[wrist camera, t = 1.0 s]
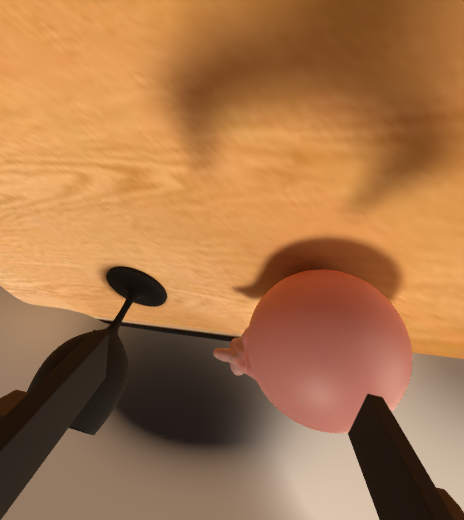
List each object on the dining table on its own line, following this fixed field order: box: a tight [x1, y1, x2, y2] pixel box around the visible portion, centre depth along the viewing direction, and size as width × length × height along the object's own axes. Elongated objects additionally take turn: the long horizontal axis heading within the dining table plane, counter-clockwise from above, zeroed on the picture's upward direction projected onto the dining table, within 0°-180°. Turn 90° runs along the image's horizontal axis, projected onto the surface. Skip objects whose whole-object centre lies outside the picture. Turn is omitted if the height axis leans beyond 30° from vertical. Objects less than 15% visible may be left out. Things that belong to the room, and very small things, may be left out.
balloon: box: [214, 269, 412, 433], centre depth 28 cm, size 15×20×15 cm
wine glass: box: [27, 267, 167, 435], centre depth 37 cm, size 10×10×20 cm
